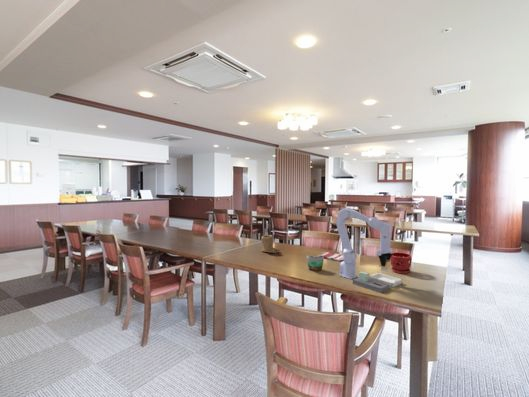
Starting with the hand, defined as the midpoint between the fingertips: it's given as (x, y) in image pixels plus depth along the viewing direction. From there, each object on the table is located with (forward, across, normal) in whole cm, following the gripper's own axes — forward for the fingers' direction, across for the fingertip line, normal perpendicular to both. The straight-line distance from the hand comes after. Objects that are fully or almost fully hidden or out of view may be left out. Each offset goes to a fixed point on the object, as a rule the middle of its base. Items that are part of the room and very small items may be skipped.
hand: (384, 265), depth 171 cm
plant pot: (+11, +28, +5) cm, 31 cm away
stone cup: (+11, -10, +100) cm, 101 cm away
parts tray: (+10, +1, 0) cm, 10 cm away
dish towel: (+11, +22, +54) cm, 60 cm away
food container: (+11, -16, +41) cm, 45 cm away
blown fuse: (+3, 0, 0) cm, 3 cm away
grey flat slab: (+10, -13, +1) cm, 16 cm away
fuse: (+10, -13, +6) cm, 17 cm away
